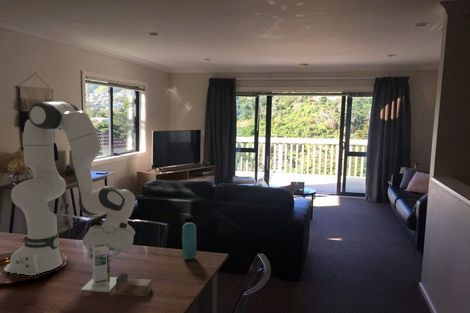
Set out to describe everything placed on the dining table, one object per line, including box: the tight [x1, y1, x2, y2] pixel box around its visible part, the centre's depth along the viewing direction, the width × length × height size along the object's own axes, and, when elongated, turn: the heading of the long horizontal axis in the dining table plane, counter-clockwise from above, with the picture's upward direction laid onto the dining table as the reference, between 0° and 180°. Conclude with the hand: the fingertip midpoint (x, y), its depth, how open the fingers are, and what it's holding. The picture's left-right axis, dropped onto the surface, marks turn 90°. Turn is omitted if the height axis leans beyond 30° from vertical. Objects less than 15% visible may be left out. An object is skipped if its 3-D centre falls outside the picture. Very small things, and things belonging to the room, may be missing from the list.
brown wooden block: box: [115, 272, 153, 297], centre depth 136 cm, size 12×5×6 cm, turn 85°
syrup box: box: [91, 243, 111, 285], centre depth 141 cm, size 6×6×14 cm
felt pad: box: [80, 276, 118, 293], centre depth 142 cm, size 11×11×1 cm
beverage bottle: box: [181, 215, 198, 260], centre depth 166 cm, size 6×7×20 cm
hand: (99, 259), depth 140 cm, fingers closed on syrup box, 8 cm apart
